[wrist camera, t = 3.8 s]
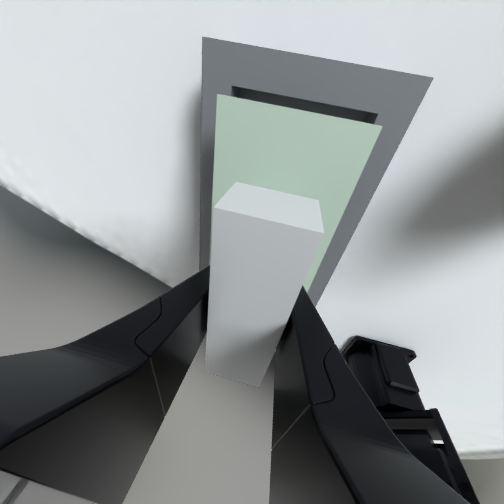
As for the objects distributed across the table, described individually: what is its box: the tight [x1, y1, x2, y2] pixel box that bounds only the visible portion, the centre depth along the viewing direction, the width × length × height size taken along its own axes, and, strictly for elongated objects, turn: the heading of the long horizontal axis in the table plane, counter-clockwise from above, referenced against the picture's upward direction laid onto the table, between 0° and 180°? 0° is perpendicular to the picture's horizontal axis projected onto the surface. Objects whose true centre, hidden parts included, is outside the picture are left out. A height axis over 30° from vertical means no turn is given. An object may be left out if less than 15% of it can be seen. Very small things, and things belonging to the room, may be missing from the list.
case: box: [199, 37, 433, 307], centre depth 15 cm, size 16×10×4 cm, turn 171°
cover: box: [205, 94, 383, 388], centre depth 9 cm, size 12×6×6 cm, turn 171°
